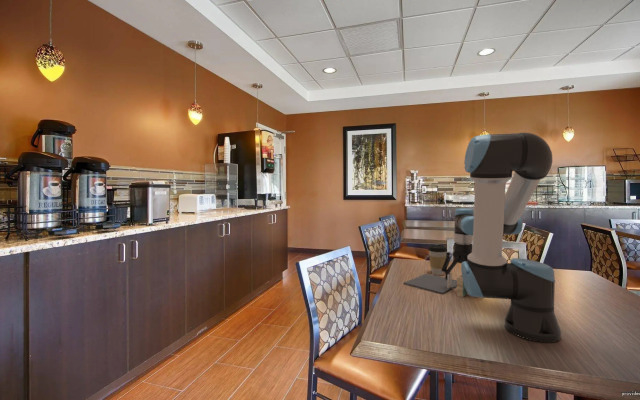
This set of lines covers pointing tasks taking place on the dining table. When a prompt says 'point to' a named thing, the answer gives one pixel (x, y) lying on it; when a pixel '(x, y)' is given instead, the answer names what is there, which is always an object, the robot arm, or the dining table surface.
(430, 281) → the mat
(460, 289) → the tan and green block
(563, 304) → the dining table surface
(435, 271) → the coffee cup
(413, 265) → the dining table surface
